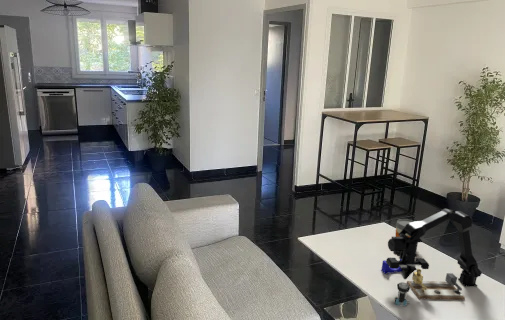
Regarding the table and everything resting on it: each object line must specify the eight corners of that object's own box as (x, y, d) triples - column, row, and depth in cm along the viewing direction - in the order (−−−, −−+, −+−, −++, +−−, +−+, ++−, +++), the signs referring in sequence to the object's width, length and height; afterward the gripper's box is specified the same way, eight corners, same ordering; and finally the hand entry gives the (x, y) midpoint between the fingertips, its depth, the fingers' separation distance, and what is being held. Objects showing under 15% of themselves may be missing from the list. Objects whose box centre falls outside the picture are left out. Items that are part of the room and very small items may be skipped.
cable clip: (398, 266, 206) (400, 256, 205) (404, 271, 202) (406, 261, 201) (379, 269, 203) (381, 259, 201) (384, 273, 199) (386, 263, 197)
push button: (407, 301, 177) (410, 281, 174) (411, 308, 171) (415, 288, 169) (392, 300, 177) (395, 280, 174) (396, 307, 172) (399, 287, 169)
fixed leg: (450, 282, 191) (452, 273, 189) (462, 294, 181) (464, 285, 179) (444, 282, 190) (446, 273, 189) (456, 294, 180) (458, 285, 179)
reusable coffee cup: (388, 243, 233) (392, 220, 229) (403, 240, 238) (407, 217, 234) (404, 252, 222) (408, 229, 218) (419, 249, 227) (424, 226, 223)
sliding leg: (417, 281, 189) (420, 267, 187) (427, 293, 179) (430, 279, 178) (411, 280, 189) (414, 267, 187) (421, 293, 179) (424, 279, 177)
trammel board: (449, 283, 193) (450, 278, 192) (464, 299, 180) (465, 294, 179) (406, 283, 191) (407, 278, 190) (419, 299, 179) (420, 293, 178)
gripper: (420, 242, 191) (415, 270, 195) (384, 241, 189) (379, 269, 194) (432, 253, 180) (426, 282, 184) (393, 252, 179) (388, 282, 183)
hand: (404, 278), depth 186 cm, fingers closed
